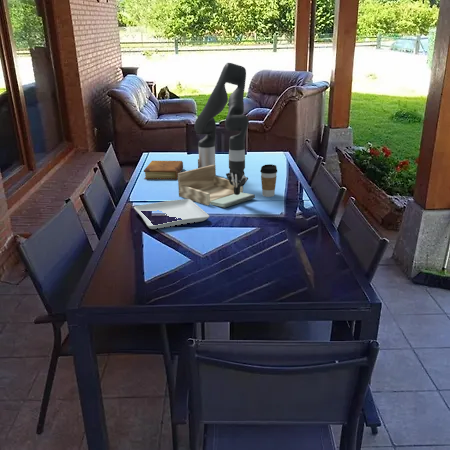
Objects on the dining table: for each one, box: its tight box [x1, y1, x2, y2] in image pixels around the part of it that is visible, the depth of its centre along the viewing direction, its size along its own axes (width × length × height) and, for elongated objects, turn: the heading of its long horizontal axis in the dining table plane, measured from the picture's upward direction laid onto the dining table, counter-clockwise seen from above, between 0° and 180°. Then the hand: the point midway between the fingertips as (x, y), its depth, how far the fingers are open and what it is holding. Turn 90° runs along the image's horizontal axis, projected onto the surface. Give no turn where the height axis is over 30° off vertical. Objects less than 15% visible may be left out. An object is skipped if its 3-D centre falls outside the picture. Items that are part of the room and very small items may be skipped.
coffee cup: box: [260, 163, 278, 198], centre depth 247 cm, size 8×8×15 cm
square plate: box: [133, 198, 210, 230], centre depth 221 cm, size 27×27×4 cm
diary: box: [143, 160, 184, 180], centre depth 290 cm, size 23×19×6 cm
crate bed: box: [177, 164, 244, 206], centre depth 248 cm, size 22×24×12 cm
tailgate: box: [210, 192, 256, 208], centre depth 239 cm, size 2×20×10 cm
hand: (236, 194), depth 236 cm, fingers closed
